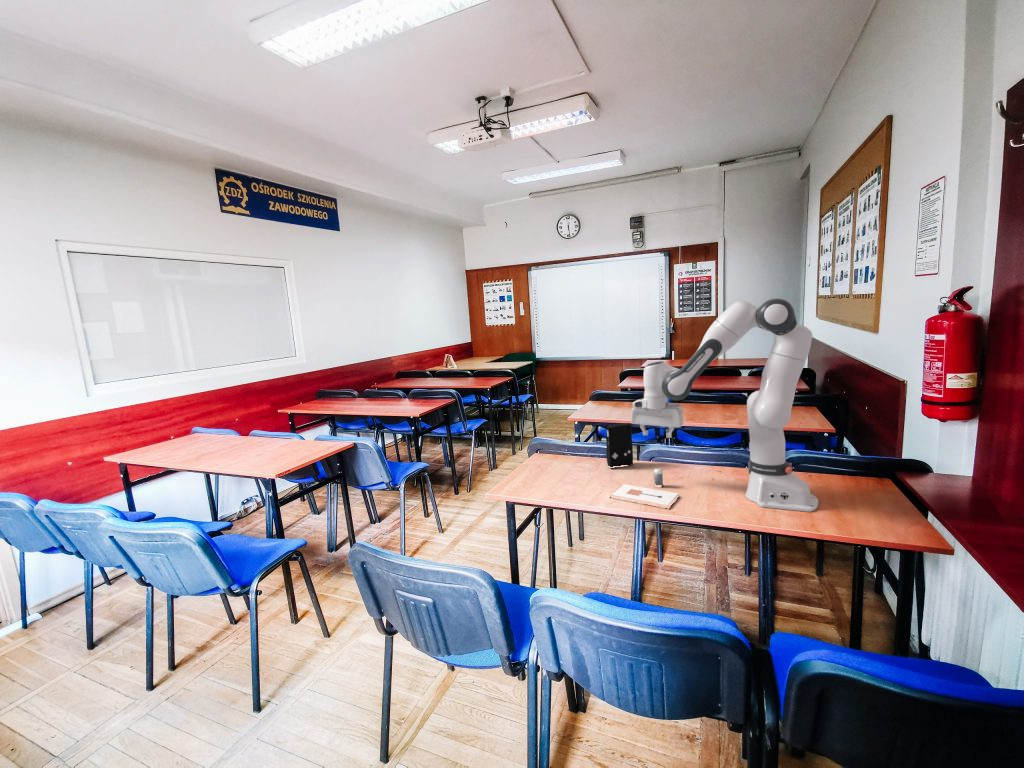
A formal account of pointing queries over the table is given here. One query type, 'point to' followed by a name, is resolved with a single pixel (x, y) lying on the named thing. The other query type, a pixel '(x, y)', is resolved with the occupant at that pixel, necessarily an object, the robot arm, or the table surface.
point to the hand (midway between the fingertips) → (657, 436)
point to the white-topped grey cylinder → (658, 476)
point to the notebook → (645, 494)
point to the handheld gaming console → (619, 445)
